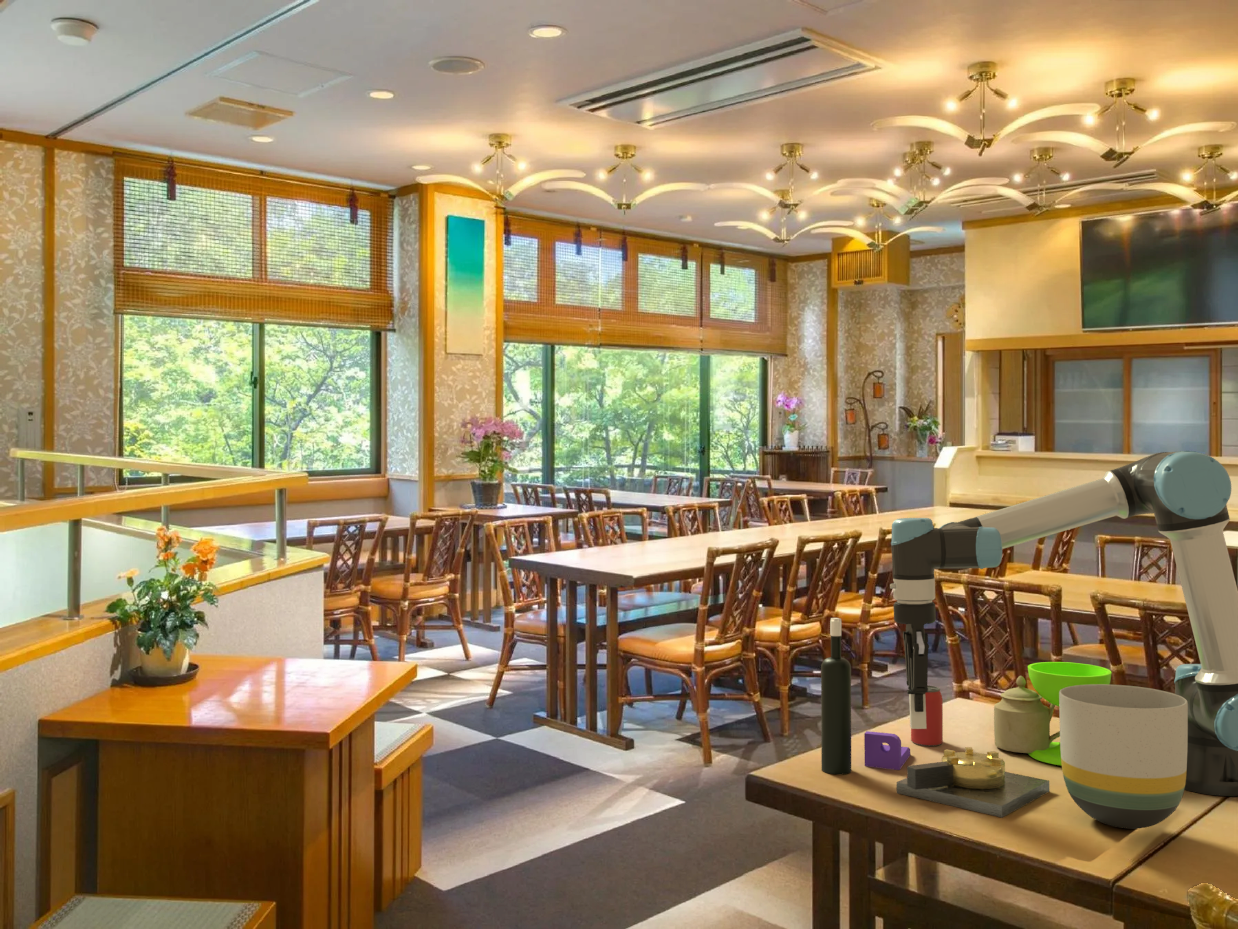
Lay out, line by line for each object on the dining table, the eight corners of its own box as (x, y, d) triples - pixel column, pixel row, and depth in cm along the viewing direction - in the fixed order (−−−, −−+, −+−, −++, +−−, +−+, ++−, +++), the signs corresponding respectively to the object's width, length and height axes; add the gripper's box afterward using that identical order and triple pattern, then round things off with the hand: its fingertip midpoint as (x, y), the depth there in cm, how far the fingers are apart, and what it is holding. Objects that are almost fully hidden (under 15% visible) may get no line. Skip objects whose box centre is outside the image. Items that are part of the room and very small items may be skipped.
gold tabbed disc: (977, 768, 205) (977, 744, 205) (1018, 784, 195) (1018, 759, 195) (893, 779, 198) (893, 754, 198) (930, 796, 188) (930, 770, 188)
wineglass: (1029, 743, 232) (1029, 659, 232) (1111, 751, 226) (1111, 665, 226) (1025, 762, 218) (1025, 673, 218) (1112, 771, 211) (1112, 679, 211)
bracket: (899, 771, 212) (899, 737, 212) (864, 767, 215) (864, 733, 215) (910, 756, 223) (910, 723, 223) (877, 753, 226) (876, 720, 226)
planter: (1048, 829, 178) (1048, 699, 178) (1072, 798, 194) (1071, 680, 194) (1181, 852, 167) (1180, 714, 167) (1194, 817, 183) (1193, 692, 183)
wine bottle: (817, 772, 211) (817, 619, 211) (826, 765, 216) (825, 615, 216) (846, 776, 208) (846, 621, 208) (854, 768, 213) (854, 617, 213)
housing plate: (1049, 791, 198) (1049, 779, 198) (1002, 817, 184) (1002, 805, 184) (948, 770, 212) (947, 759, 212) (896, 793, 198) (896, 781, 198)
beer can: (944, 748, 229) (943, 691, 229) (912, 746, 230) (911, 690, 230) (941, 740, 235) (941, 685, 235) (910, 738, 236) (909, 684, 236)
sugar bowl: (1053, 739, 233) (1053, 670, 233) (1077, 753, 222) (1077, 680, 222) (985, 740, 233) (985, 670, 233) (1006, 754, 222) (1006, 681, 222)
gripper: (888, 597, 207) (892, 719, 207) (899, 606, 194) (903, 736, 194) (928, 596, 206) (932, 719, 206) (941, 605, 193) (946, 736, 193)
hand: (918, 727), depth 200 cm, fingers closed
